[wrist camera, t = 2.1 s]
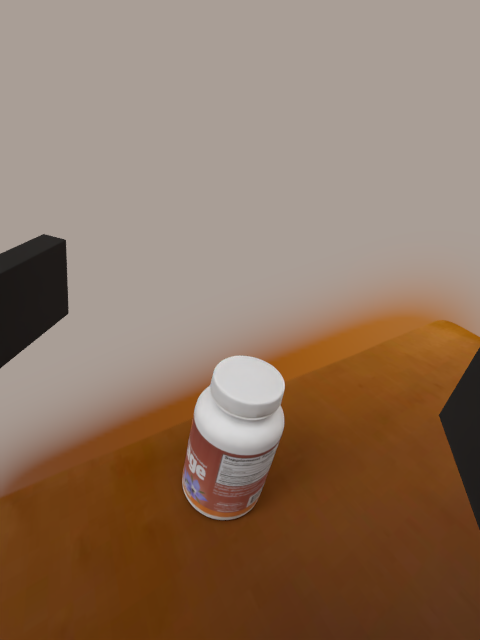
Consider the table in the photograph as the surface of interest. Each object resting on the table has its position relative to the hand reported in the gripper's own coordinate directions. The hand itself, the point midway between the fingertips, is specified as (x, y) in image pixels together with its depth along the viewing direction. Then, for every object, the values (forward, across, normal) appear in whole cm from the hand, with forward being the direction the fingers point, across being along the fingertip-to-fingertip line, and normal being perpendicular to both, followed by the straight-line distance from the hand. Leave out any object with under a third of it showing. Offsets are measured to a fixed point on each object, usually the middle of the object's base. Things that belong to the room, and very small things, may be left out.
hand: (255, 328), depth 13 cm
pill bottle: (+9, 0, -20) cm, 22 cm away
